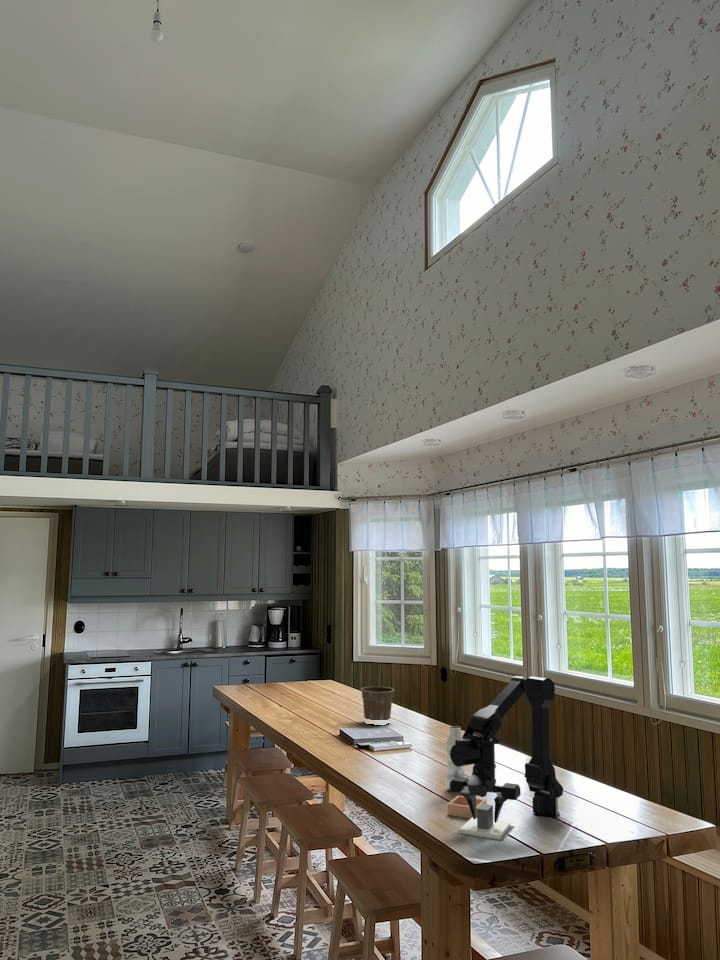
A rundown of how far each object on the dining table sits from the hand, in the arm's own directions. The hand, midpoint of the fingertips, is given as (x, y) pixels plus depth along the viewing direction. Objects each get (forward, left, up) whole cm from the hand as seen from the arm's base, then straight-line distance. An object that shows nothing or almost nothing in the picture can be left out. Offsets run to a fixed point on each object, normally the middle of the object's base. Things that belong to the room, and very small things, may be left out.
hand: (485, 820), depth 199 cm
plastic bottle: (+20, -34, -3) cm, 40 cm away
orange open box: (+9, -12, -3) cm, 15 cm away
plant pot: (+89, -122, -3) cm, 151 cm away
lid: (0, 0, -2) cm, 2 cm away
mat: (0, 0, -3) cm, 3 cm away
